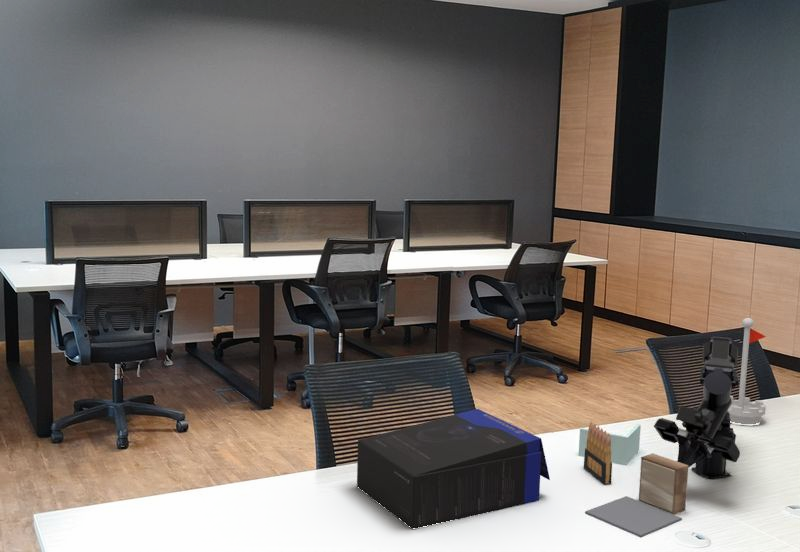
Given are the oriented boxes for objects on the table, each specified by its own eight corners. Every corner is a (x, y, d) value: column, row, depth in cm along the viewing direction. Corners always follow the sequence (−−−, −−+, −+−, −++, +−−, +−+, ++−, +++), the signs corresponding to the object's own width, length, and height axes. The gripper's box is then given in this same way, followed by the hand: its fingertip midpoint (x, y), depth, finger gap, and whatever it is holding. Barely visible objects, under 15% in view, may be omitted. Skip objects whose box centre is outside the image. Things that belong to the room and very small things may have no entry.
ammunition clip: (611, 484, 197) (614, 434, 196) (604, 485, 197) (607, 434, 195) (590, 467, 208) (593, 419, 206) (583, 468, 207) (586, 420, 205)
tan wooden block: (649, 496, 191) (652, 453, 189) (685, 510, 184) (688, 465, 182) (637, 501, 188) (640, 457, 187) (673, 515, 181) (676, 469, 180)
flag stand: (720, 425, 243) (728, 321, 239) (711, 411, 256) (719, 312, 251) (769, 428, 241) (778, 323, 237) (758, 415, 254) (766, 315, 249)
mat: (626, 497, 190) (626, 496, 190) (681, 519, 179) (681, 517, 179) (585, 513, 181) (585, 511, 181) (640, 537, 170) (640, 535, 170)
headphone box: (550, 499, 188) (553, 436, 186) (412, 530, 171) (414, 461, 169) (484, 463, 210) (487, 406, 208) (356, 487, 192) (357, 425, 190)
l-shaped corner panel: (638, 452, 220) (640, 424, 219) (626, 467, 210) (627, 437, 209) (593, 444, 226) (594, 416, 225) (578, 457, 216) (580, 428, 215)
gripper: (661, 383, 197) (628, 439, 191) (737, 402, 182) (704, 463, 177) (679, 411, 203) (647, 465, 197) (753, 432, 188) (722, 491, 183)
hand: (678, 470), depth 188 cm, fingers closed
